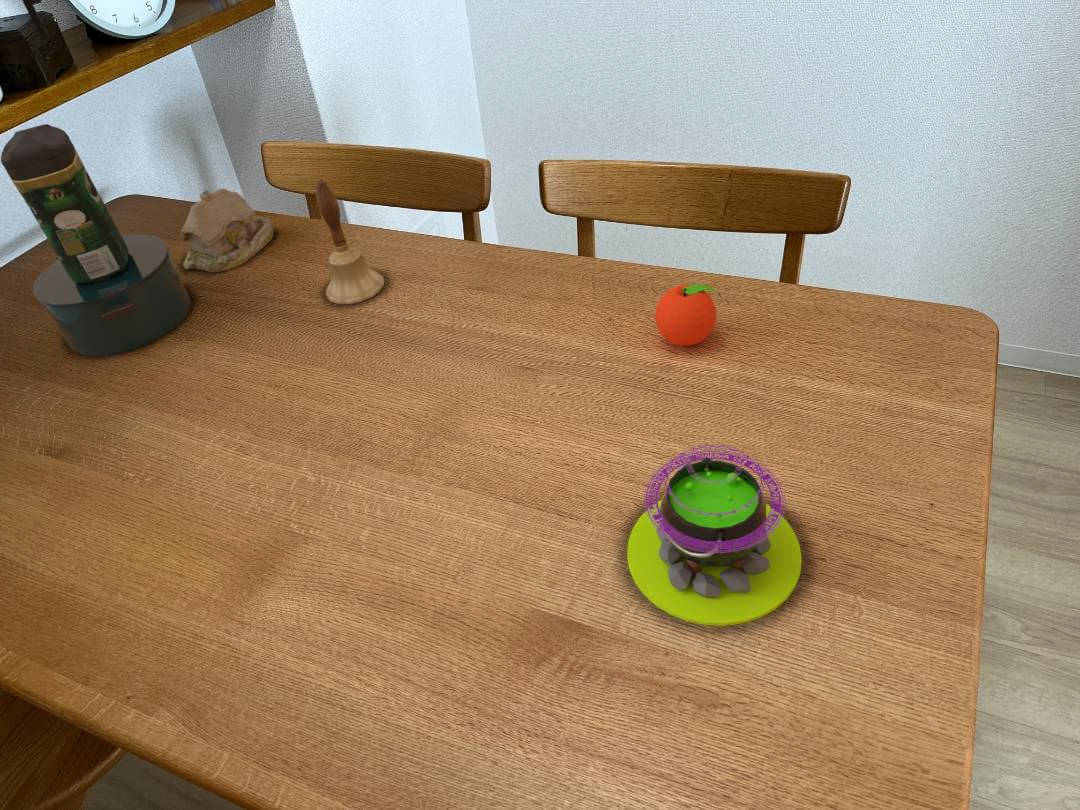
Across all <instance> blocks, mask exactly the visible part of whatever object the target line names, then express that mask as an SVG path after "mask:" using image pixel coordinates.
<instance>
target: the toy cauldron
mask: <svg viewBox="0 0 1080 810" xmlns="http://www.w3.org/2000/svg"><path fill="white" fill-rule="evenodd" d="M707 447H709V449H708V448H707ZM715 448H719V449H715ZM700 449H701V450H700ZM726 449H727V450H726ZM722 450H725V451H722ZM730 451H731V452H730ZM739 452H740V453H739ZM697 461H698V462H697ZM739 465H740V466H739ZM743 467H744V468H745V469H744V468H743ZM747 469H748V470H749V471H751V472H752V473H754V474H755V475H756V477H758V478H759V479H760V484H759V483H758V480H757V479H756V478H755V477H754V475H752V474H751V473H750V472H749V471H748V470H747ZM675 470H676V472H675ZM673 472H674V474H673V476H672V477H671V478H670V480H669V475H670V474H671V473H673ZM663 482H664V486H665V490H664V493H663V495H662V497H661V499H660V500H659V492H660V488H661V486H662V485H663ZM646 484H647V485H646V487H645V489H644V490H643V492H644V493H645V494H644V496H643V504H644V509H645V512H643V514H641V516H639V518H638V519H637V521H636V523H635V524H634V526H633V527H632V529H631V533H630V535H629V539H628V542H627V554H626V556H627V557H626V558H627V563H628V569H629V572H630V574H631V577H632V579H633V581H634V583H635V585H636V586H637V588H638V589H639V590H640V592H641V593H642V594H643V595H644V597H646V599H648V600H649V602H651V603H652V604H654V605H655V606H656V608H659V609H661V610H662V611H664V612H666V613H667V614H669V615H671V616H673V617H675V618H677V619H680V620H683V621H686V622H689V623H694V624H699V625H702V626H703V625H704V626H715V627H716V626H719V627H727V626H734V625H741V624H746V623H749V622H752V621H755V620H758V619H761V618H762V617H765V616H767V615H768V614H770V613H772V612H773V611H776V609H778V608H779V607H780V606H782V604H783V603H785V602H786V601H787V600H788V598H789V597H790V596H791V594H793V592H794V590H795V589H796V586H797V584H798V582H799V579H800V576H801V571H802V563H803V560H802V559H803V558H802V552H801V546H800V542H799V540H798V538H797V535H796V533H795V531H794V529H793V528H792V526H791V525H790V524H789V523H788V521H787V520H786V519H785V518H784V516H785V513H786V507H787V501H786V495H785V491H784V488H783V486H782V484H781V482H780V480H779V479H778V478H777V476H776V475H775V474H774V473H773V472H772V471H771V470H770V469H769V467H766V466H765V465H764V464H763V463H761V462H759V461H757V460H756V459H754V458H752V456H750V455H749V454H748V453H747V452H745V451H744V450H743V451H742V450H740V449H739V448H736V447H732V446H728V445H723V444H720V445H717V444H703V445H702V444H701V445H700V446H699V445H698V446H696V447H695V446H693V447H690V448H689V449H687V450H685V451H682V452H680V453H679V454H677V455H676V456H674V457H671V458H669V459H668V461H664V462H663V463H660V465H659V466H658V468H657V469H656V470H655V471H654V472H652V473H651V476H650V478H649V479H648V481H647V483H646ZM761 486H762V488H761ZM765 487H766V488H767V492H768V495H769V496H770V505H769V504H767V503H766V501H765V499H764V496H763V492H764V490H765V489H764V488H765ZM654 498H655V499H654ZM658 500H659V501H658ZM782 504H784V506H782Z"/></svg>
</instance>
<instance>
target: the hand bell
mask: <svg viewBox="0 0 1080 810" xmlns="http://www.w3.org/2000/svg"><path fill="white" fill-rule="evenodd" d="M315 199H316V200H315V201H316V205H317V208H318V211H319V213H320V215H321V217H322V219H323V221H324V222H325V223H326V225H327V227H328V228H329V231H330V235H331V238H332V239H331V240H332V241H333V245H334V248H335V249H334V250H335V251H333V252H332V253H331V254H330V255H329V257H328V263H329V267H330V282H329V283H328V285H327V287H326V291H325V296H326V299H327V300H328V301H329V302H331V303H334V304H336V305H353V304H354V305H355V304H358V303H362V302H364V301H367V300H369V299H371V298H373V297H374V296H376V295H377V294H378V293H380V291H381V290H382V289H383V288H384V286H385V279H384V276H383V275H382V274H381V273H380V272H378V271H376V270H374V269H372V268H371V267H370V266H369V265H368V264H367V262H366V260H365V258H364V256H363V254H362V252H361V250H360V249H359V248H357V247H353V246H349V245H348V242H347V239H346V236H345V233H344V231H343V228H342V225H341V211H340V206H339V202H338V200H337V197H336V195H335V193H334V192H333V190H332V189H331V188H330V186H329V185H328V183H327V181H326V180H325V179H319V180H317V181H316V182H315Z"/></svg>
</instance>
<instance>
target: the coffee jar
mask: <svg viewBox="0 0 1080 810" xmlns="http://www.w3.org/2000/svg"><path fill="white" fill-rule="evenodd" d="M0 163H1V165H2V166H3V168H4V169H5V171H6V173H7V175H8V176H9V179H10V181H11V182H12V183H13V185H14V186H15V188H16V190H17V191H18V193H19V194H20V196H21V197H22V199H23V200H24V202H25V204H26V205H27V207H28V208H29V210H30V212H31V213H32V215H33V217H34V219H35V220H36V222H37V223H38V225H39V227H40V229H41V230H42V233H44V235H45V237H46V239H47V241H48V242H49V244H50V246H51V247H52V249H53V251H54V253H55V255H56V256H57V258H58V260H60V261H61V263H62V265H63V267H64V268H65V270H66V272H67V274H68V275H69V277H70V279H71V280H72V281H74V282H76V283H88V282H98V281H101V280H104V279H107V278H110V277H111V276H112V275H114V274H116V273H118V272H119V271H121V270H124V269H125V267H126V266H127V263H128V258H129V253H128V248H127V245H126V243H125V241H124V239H123V238H122V236H123V235H122V234H121V232H120V230H119V228H118V227H117V225H116V223H115V221H114V220H113V218H112V216H111V214H110V212H109V210H108V208H107V207H106V205H105V203H104V200H103V199H102V197H101V194H100V193H99V191H98V190H97V188H96V185H95V184H94V182H93V180H92V178H91V176H90V174H89V172H88V171H87V168H86V167H85V165H84V163H83V161H82V159H81V157H80V155H79V153H78V151H77V149H76V148H75V145H74V144H73V142H72V141H71V139H70V136H69V135H68V134H67V132H66V131H65V130H63V129H62V128H59V127H56V126H52V125H50V124H48V123H45V124H41V125H37V126H33V127H29V128H25V129H21V130H17V131H15V132H14V134H13V136H12V137H11V138H10V139H9V140H8V141H7V142H6V144H4V146H3V149H2V151H1V155H0Z"/></svg>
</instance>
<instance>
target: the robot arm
mask: <svg viewBox="0 0 1080 810" xmlns="http://www.w3.org/2000/svg"><path fill="white" fill-rule="evenodd" d="M22 3H23V5H24V7H25V9H26V11H27V13H28V15H29V16H30V19H31V21H32V22H33V25H34V27H35V29H36V30H37V33H38V35H39V37H40V38H41V40H44V39H48V38H49V35H48V32H47V30H46V28H45V26H44V24H43V22H42V20H41V18H40V15H39V14H38V12H37V9H36V8H35V6H34V5H37V4H41V3H42V0H22Z"/></svg>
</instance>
